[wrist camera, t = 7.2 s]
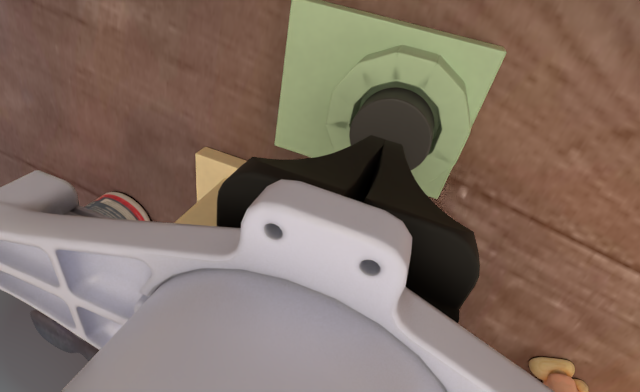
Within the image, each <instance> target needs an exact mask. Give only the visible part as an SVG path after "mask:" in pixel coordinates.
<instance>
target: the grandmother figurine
mask: <svg viewBox="0 0 640 392" xmlns="http://www.w3.org/2000/svg"><path fill="white" fill-rule="evenodd" d="M529 368H530V370H531V372H532V373H533V374H534V375H535V376H536V377H537V378H539V379H541V380H543V384H545V385H546V386H547V387H549V388H550V389H552V390H553V391H555V392H588V386H587V385H586V383H585V382H584V381H582V380H578V379H572V378H571V377H572V376H573V375H574V372H575V367H574V365H573V363H572V362H570V361H568V360H563V359H555V358H547V357H537V358H533V359H531V360H530V361H529Z"/></svg>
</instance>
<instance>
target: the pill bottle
mask: <svg viewBox="0 0 640 392" xmlns="http://www.w3.org/2000/svg"><path fill="white" fill-rule="evenodd" d="M84 208H87V209H89V210H92V211H94V212H97V213H100V214H102V215H105V216H107V217H110V218H112V219H126V220H139V221H150V219H149V217H148V215H147V213H146V212H145V211H144V209H143V208H142V207H141V206H140V205H139V204H138V203H137V202H136V201H135V200H133V199H132V198H130V197H128V196H127V195H124V194H122V193H118V192H109V193H106V194H104V195H102V196H101V197H99V198H98V199H96V200H95V201H93V202H91V203H90V204H88V205H87V206H85V207H84Z"/></svg>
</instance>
